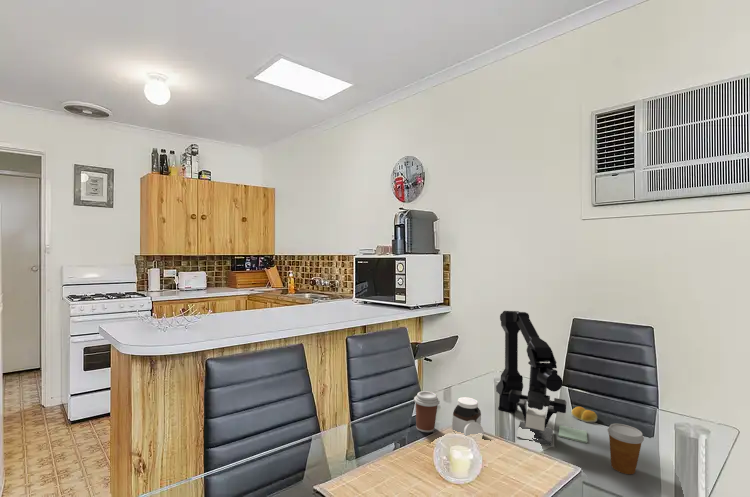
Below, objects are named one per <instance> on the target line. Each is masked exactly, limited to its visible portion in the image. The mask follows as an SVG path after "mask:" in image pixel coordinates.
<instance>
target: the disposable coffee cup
mask: <svg viewBox="0 0 750 497" xmlns="http://www.w3.org/2000/svg"><path fill="white" fill-rule="evenodd" d="M607 432H608V436H609V438H608V440H609V451H610V464H611V465H610V467H612V469H614V470H615V471H616V472H619V473H621V474H624V475H634V474H636V469H637V465H638V460H639V456H640V452H641V448H642V443H643V441H644V440H645V437H644V435H643V431H641V430H639V429H638V428H636V427H634V426H631V425H628V424H623V423H610V425H609V426H608V427H607Z"/></svg>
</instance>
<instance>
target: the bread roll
mask: <svg viewBox="0 0 750 497" xmlns="http://www.w3.org/2000/svg"><path fill="white" fill-rule="evenodd" d="M570 414H571V416H572V417H573V418H574V419H575V420H578V421H579V420H580V421H582V422H584V423H591V424H592V423H596V422H597V421H598V414H596V412H594V411H593V410H589V409H586V408H584V407H582V406H576V407H574V408H573V409H571V411H570Z"/></svg>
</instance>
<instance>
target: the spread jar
mask: <svg viewBox="0 0 750 497" xmlns="http://www.w3.org/2000/svg"><path fill="white" fill-rule="evenodd" d="M478 406H479V401H478V400H476V399H474V398H472V397H465V396H463V397H459V398H457V405H456V406H455V408H454V410H453V413H452V419H451V420H452V421H451V422H452V423H451V427H452V428H451V430H452V431H453V430H455V431H457V432H461V433H464V435H465V436H467V435H470V434H478V433H482V434H484V428H483V426H482V425H481V423H482V422H481V421H482V411H481V410H480V407H478Z"/></svg>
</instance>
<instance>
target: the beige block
mask: <svg viewBox="0 0 750 497" xmlns="http://www.w3.org/2000/svg"><path fill="white" fill-rule="evenodd" d="M546 415H547V411H543V410H538V409H535V408H529V407H527V413H526V427H529V428H533V429H537V430H542V431H544V429H545V420H546Z"/></svg>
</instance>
